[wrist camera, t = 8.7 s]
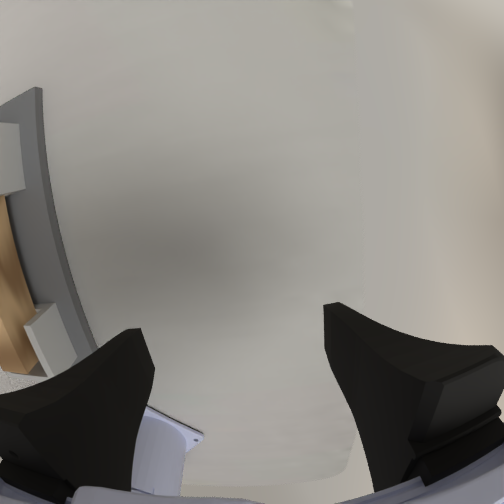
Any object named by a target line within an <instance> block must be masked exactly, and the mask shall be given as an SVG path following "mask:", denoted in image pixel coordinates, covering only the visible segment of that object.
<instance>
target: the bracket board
mask: <svg viewBox="0 0 504 504" xmlns="http://www.w3.org/2000/svg"><path fill="white" fill-rule="evenodd" d="M2 195H5V201H6V207H7V212H8V217H9V222H10V226H11V231H12V235H13V239H14V243H15V247H16V251H17V255H18V258H19V262H20V265H21V269H22V272H23V275H24V278H25V281H26V284H27V287H28V290H29V293H30V296H31V299H32V302H33V304H34V307H35V310H36V312H37V314H36V315H35V316H34V317H32V318H31V319H30V320H29V321H28V322H27V323H26V324H25V325H24V329H25V331H26V333H27V336H28V338H29V340H30V342H31V344H32V346H33V349H34V351H35V353H36V355H37V357H38V359H39V361H38V362H37V363H36V365H35V366H34V367H33V368H32V369H31V371H30V372H29V373H28V374H22V373H14V372H7V371H5V372H6V374H7V375H8V377H9V378H12V379H19V380H26V381H34V382H43V381H45V380H47V379H50V378H52V377H54V376H56V375H58V374H60V373H62V372H64V371H65V370H67V369H69V368H71V367H72V366H74V365H76V364H77V363H79V362H80V361H82V360H83V359H85V358H86V357H87V356H89V355H90V354H92V353H93V352H95V351H96V350H97V349H98V348H97V345H96V343H95V340H94V338H93V335H92V333H91V330H90V328H89V325H88V323H87V320H86V317H85V315H84V312H83V309H82V306H81V303H80V300H79V297H78V294H77V291H76V288H75V285H74V282H73V279H72V276H71V272H70V269H69V265H68V262H67V258H66V255H65V251H64V247H63V243H62V239H61V235H60V231H59V226H58V222H57V217H56V212H55V207H54V202H53V197H52V191H51V185H50V179H49V172H48V165H47V157H46V148H45V138H44V125H43V106H42V88H38V87H33V88H31V89H29V90H28V91H26V92H24V93H22V94H20V95H18V96H17V97H15V98H13V99H12V100H10V101H8V102H6V103H5V104H3V105H2V106H0V196H2Z"/></svg>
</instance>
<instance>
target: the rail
mask: <svg viewBox="0 0 504 504" xmlns="http://www.w3.org/2000/svg"><path fill="white" fill-rule="evenodd" d="M36 314H37V312H36V310H35V307H34V304H33V302H32V299H31V296H30V293H29V290H28V287H27V284H26V281H25V278H24V275H23V272H22V269H21V265H20V262H19V258H18V255H17V251H16V247H15V243H14V239H13V235H12V231H11V226H10V222H9V217H8V212H7V207H6V201H5V195H2V196H0V366H1V368H2V369H3V371H7V372H14V373H22V374H28V373H29V372H30V371H31V369H32V368H33V367H34V366H35V365H36V363H37V362H38V361H39V359H38V357H37V355H36V353H35V351H34V349H33V346H32V344H31V342H30V340H29V338H28V336H27V333H26V331H25V329H24V325H25V324H26V323H27V322H28V321H29V320H30V319H31V318H32V317H34V316H35V315H36Z"/></svg>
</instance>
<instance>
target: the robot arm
mask: <svg viewBox="0 0 504 504" xmlns="http://www.w3.org/2000/svg"><path fill="white" fill-rule="evenodd" d="M323 308H324V346H325V351H326V354H327V358H328V361H329V364H330V367H331V369H332V372H333V374H334V376H335V378H336V380H337V382H338V384H339V386H340V388H341V390H342V392H343V394H344V396H345V398H346V401H347V403H348V405H349V407H350V409H351V411H352V414H353V416H354V419H355V422H356V425H357V428H358V431H359V434H360V437H361V441H362V444H363V448H364V451H365V454H366V458H367V462H368V466H369V470H370V474H371V478H372V483H373V488H374V492H375V493H372V494H369V495H366V496H362V497H359V498H355V499H352V500H348V501H344V502H340V503H336V504H504V423H503V422H502V421H501V420H500V418H499V416H500V415H501V410H500V408H499V407H498V406H497V405H496V404H497V402H498V400H499V398H500V396H501V394H502V392H503V389H504V355H503V354H501V353H500V352H499V351H498V350H497V349H496V348H495V347H494V346H492V345H479V346H478V345H469V346H468V345H456V344H446V343H440V342H435V341H430V340H425V339H421V338H418V337H414V336H411V335H408V334H405V333H401V332H399V331H396V330H393V329H391V328H389V327H387V326H384V325H381V324H380V323H378V322H376V321H373V320H372V319H370V318H368V317H366V316H364V315H362V314H360V313H358V312H357V311H355V310H353V309H351V308H349V307H348V306H346V305H344V304H342V303H340V302H336V303H331V304H325V305H323ZM154 372H155V367H154V364H153V362H152V359H151V356H150V353H149V351H148V348H147V345H146V342H145V339H144V337H143V334H142V331H141V328H135V329H127V330H125V331H123V332H121V333H120V334H118V335H117V336H115V337H114V338H113V339H111V340H110V341H108V342H107V343H106V344H104V345H103V346H102V347H100V348H99V349H97V350H96V351H95V352H93V353H92V354H90V355H89V356H87V357H86V358H85V359H83V360H82V361H80V362H79V363H77V364H76V365H74V366H72V367H71V368H69V369H67V370H65V371H64V372H62V373H60V374H58V375H56V376H54V377H52V378H50V379H47V380H45V381H43V382H40V383H38V384H36V385H33V386H30V387H27V388H24V389H21V390H18V391H14V392H10V393H5V394H0V457H1V458H2V459H3V460H2V461H1V463H0V504H264V503H259V502H254V501H250V500H246V499H239V498H220V497H180V491H181V484H182V476H183V468H184V461H185V454H186V453H187V452H188V451H190V450H191V449H192V448H193V447H195V446H196V445H197V444H198V443H200V442H201V441H202V440H203V439H204V435H203V434H202V433H200V432H197V431H195V430H193V429H191V428H189V427H187V426H185V425H182V424H180V423H178V422H176V421H174V420H172V419H170V418H168V417H166V416H164V415H162V414H161V413H159V412H157V411H155V410H153V409H151V408H149V407H148V406H147V402H148V399H149V396H150V393H151V389H152V385H153V379H154Z"/></svg>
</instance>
